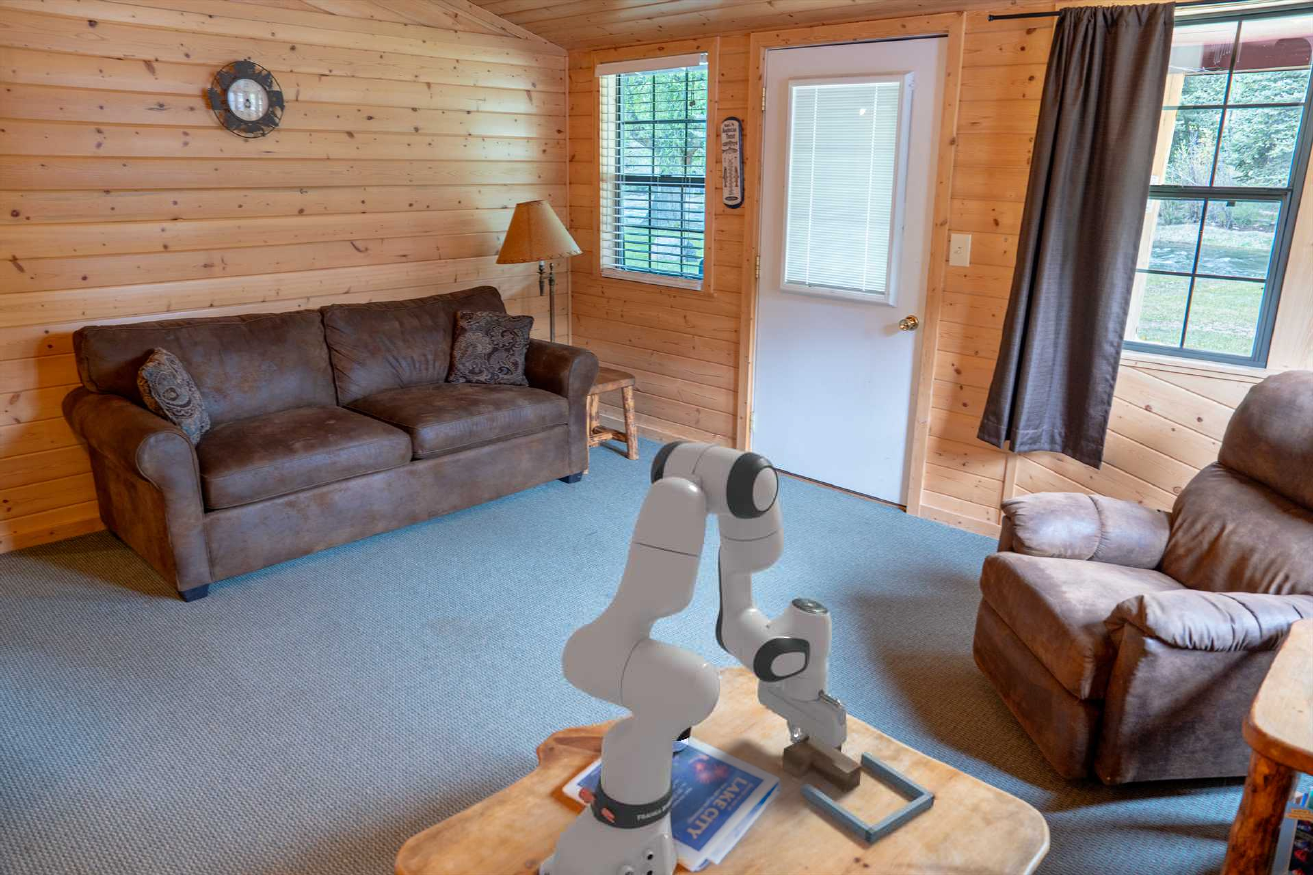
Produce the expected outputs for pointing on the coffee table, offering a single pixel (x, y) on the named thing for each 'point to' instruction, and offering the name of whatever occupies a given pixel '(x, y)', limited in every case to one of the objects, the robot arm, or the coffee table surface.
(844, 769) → the walnut T block
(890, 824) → the slate bay
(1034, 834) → the coffee table surface
